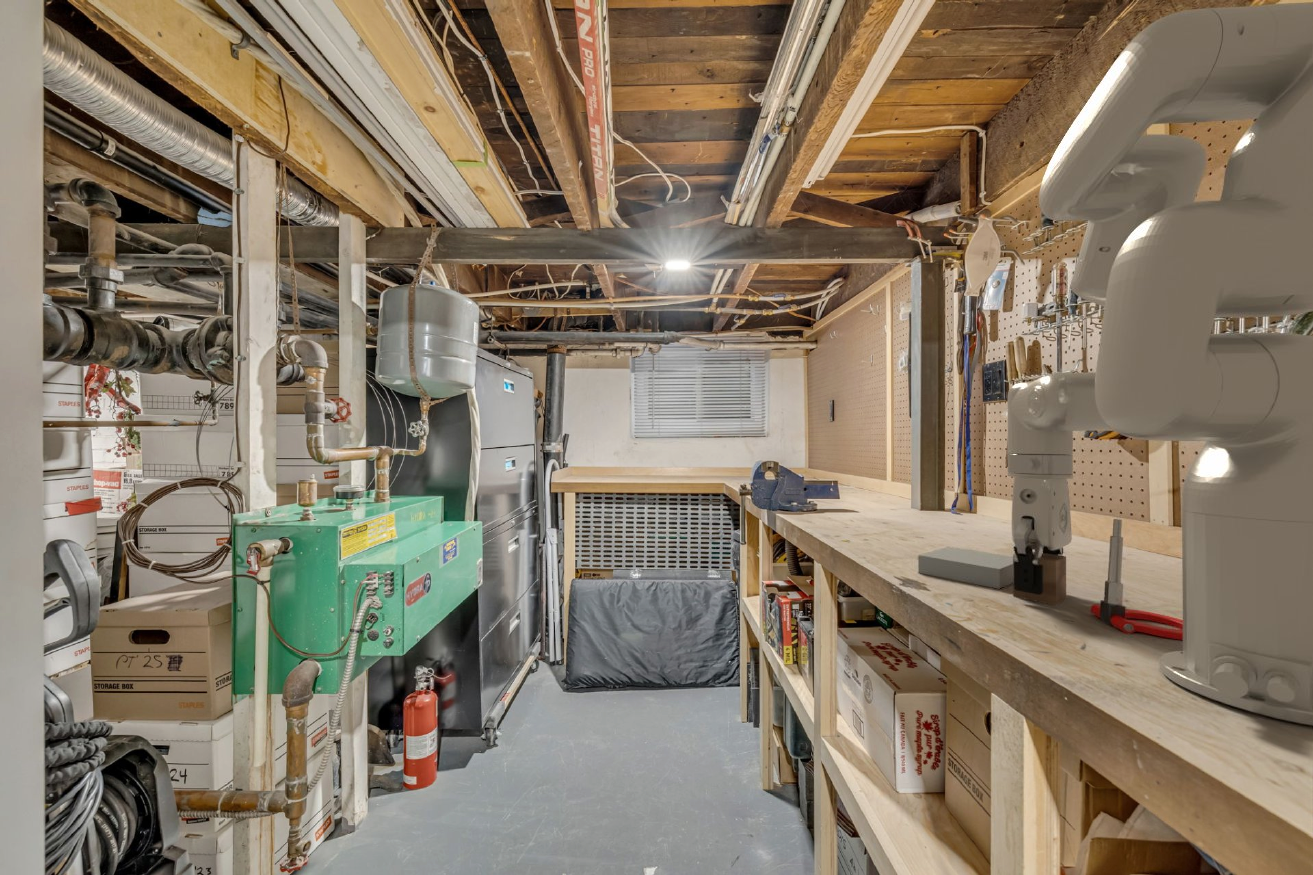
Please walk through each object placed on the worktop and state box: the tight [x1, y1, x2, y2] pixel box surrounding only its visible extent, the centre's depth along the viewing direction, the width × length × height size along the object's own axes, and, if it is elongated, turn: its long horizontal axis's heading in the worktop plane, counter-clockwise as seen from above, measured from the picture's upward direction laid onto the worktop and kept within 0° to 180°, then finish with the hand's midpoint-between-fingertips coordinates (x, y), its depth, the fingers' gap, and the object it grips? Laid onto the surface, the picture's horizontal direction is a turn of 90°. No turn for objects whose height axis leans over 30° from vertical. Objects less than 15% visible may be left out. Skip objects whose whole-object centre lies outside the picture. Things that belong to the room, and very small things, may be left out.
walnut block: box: [1012, 551, 1067, 606], centre depth 73 cm, size 5×5×6 cm
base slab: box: [917, 546, 1013, 589], centre depth 85 cm, size 12×12×3 cm
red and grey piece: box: [1089, 518, 1183, 641], centre depth 61 cm, size 8×13×9 cm
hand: (1039, 586), depth 73 cm, fingers open, 9 cm apart
